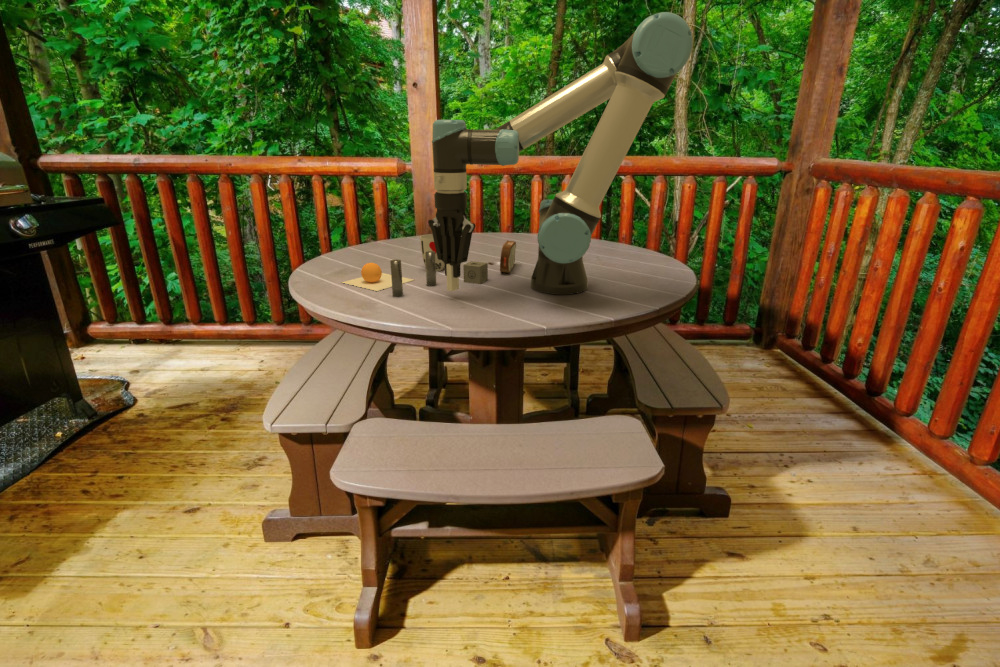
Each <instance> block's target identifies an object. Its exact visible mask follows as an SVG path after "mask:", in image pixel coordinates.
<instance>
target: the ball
mask: <svg viewBox="0 0 1000 667" xmlns="http://www.w3.org/2000/svg"><path fill="white" fill-rule="evenodd" d="M382 273H383V272H382V268H381V267H380V265H379V264H377V263H375V262H367V263H365V264H364V265H363V266H362V268H361V272H360V275H361V277H363V279H364V280H365V281H367V282H369V283H374V282H377V281H378V280H379V279H380V278H381V276H382Z"/></svg>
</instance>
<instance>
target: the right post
mask: <svg viewBox="0 0 1000 667" xmlns="http://www.w3.org/2000/svg"><path fill="white" fill-rule="evenodd" d="M425 258H426V267H425V276H426V278H425V279H426V286H427V287H435V286H437V271H436V263H435V252H434V251H427V252H425Z"/></svg>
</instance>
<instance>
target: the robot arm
mask: <svg viewBox="0 0 1000 667" xmlns="http://www.w3.org/2000/svg"><path fill="white" fill-rule="evenodd" d="M693 42H694V38H693V33H692V30H691V28H690V26H689V24H688V22H687V21H686V20H685V19H684V18H683V17H681V16H680V15H678V14H676V13H673V12H670V11H663V12H658V13H655V14H652V15H649V16H648V17H646V18H645V19H643V21H641V22H640V24H639V25H638V26H637V27H636V30H635V31H634V32H633V33H632V34H631V35H630V37H629V38H628V39H626V40H625V42H624V43H622V44H621V45H620V46H619V47H617V48H616V49H615V50H613V51H611V52H610V53H609V54H606V56H605V58H604V60H603V62H602V64H600V65H598V66H596V67H595V68H593V69H591V70H589V71H588V72H587V73H584V74H583V75H581V76H580V77H578V78H576V79H575V80H573V81H572V82H570V83H568V84H566V85H565V86H564V87H562V88H560V89H558V90H557V91H555V92H554V93H552V94H551V95H549V96H547V97H546V98H544V99H542V100H541V101H539V102H538V103H536V104H535V105H533V106H531V107H529V108H528V109H526V110H525V111H523V112H520V113H519V114H518V115H517V116H515V117H513V118H511V119H509V121H507V122H505V123H503V124H501V125H500V126H498V127H496V128H495V129H470V128H467V124H466V121H465V120H463V119H436V120H435V121H433V124H432V141H431V144H432V161H433V164H432V165H433V187H434V190H435V191H436V192H435V193H434V194H433V195H434V198H433V199H434V207H435V209H436V212H435V217H433V218H432V219H428V226H429V227H430V229H431V234H433V239H434V244H435V248H436V253H437V258H438V259H439V260H442V261H443V262H444V264H445V265H444V275H445V276H446V291H450V292H454V291H456V290H459V289H460V287H459V286H460V284H459V281H460V280H459V278H460V277H461V275H462V273H461V264H463V263H467V261H468V258H469V253H470V246H471V242H472V241H471V240H472V236H473V232H474V230H475V229H476V227H477V226H476V224H475V223H474V222H470V221H469V220H468V216H467V213H466V209H467V207H468V196H467V195H468V194H467V192H465V191H466V190H467V189H468V188H467V187H468V183H467V182H468V181H467V177H468V176H467V165H471V166H473V165H476V166H477V165H479V166H480V165H481V166H484V165H485V166H502V167H504V166H514V165H516V164H517V165H518V162H519V158H520V153H521V152H522V151H523V150H525V149H527V148H528V147H530V146H531V145H533V144H536V143H537V142H539V141H541V140H542V139H543V138H546V137H547V136H548V135H551V134H552V133H554V132H555V131H557V130H559V129H560V128H563V127H564V126H566V125H567V124H569V123H571V122H573V121H574V120H576V119H577V118H580V117H581V116H583V115H584V114H586V113H588V112H589V111H592V110H593V109H595V108H596V107H599V105H601V104H603V103H605V102H606V101H608V103H607V104H606V106H605V108H604V111H603V112H602V114H601V117H600V119H599V121H598V123H597V125H596V127H595V129H594V131H593V133H592V135H591V137H590V139H589V141H588V143H587V146H586V147H585V149H584V151H583V153H582V156H581V157H580V159H579V161H578V163H577V165H576V167H575V170H574V171H573V173H572V176H571V178H570V180H569V182H568V184H567V185H566V188H565V189H564V190H563V191H559V192H557V193H555V195H554V198H553V199H543V200H541V202H540V203H539V204H540V205H539V209H538V213H539V219H538V220H539V221H538V222H539V224H538V225H539V226H538V231H537V243H538V253H537V254H538V255H537V256H538V258H537V260H536V264H535V266H534V270H533V271H532V274H531V278H530V288H531V289H532V290H534V291H536V292H539V293H543V294H548V293H550V294H549V295H551V294H552V295H572V294H571V293H576V294H578V293H577V292H581V291H583V292H585V291H587V290H586V289H588V284H589V281H588V276H587V274H586V269H585V264H584V261H583V256H584V255H585V254H586V253H587V251H588V250H589V248H590V246H591V241H592V235H593V233H594V231H595V229H596V228H597V227H598V224H599V222H600V221H601V217H602V213H601V210H600V206H601V205H602V202H603V199H604V198H605V196H606V194H607V192H608V190H609V188H610V187H611V184H612V182H613V181H614V179H615V177H616V175H617V173H618V171H619V169H620V167H621V165H622V164H623V161H624V159H625V158H626V156H627V154H628V152H629V150H630V148H631V146H632V144H633V142H634V140H635V139H636V136H637V135H638V133H639V131H640V129H641V127H642V125H643V123H644V121H645V120H646V119H647V116H648V113H649V112H650V110H651V108H652V106H653V104H654V103H655V102H658V101H659V100H662V99H664V98H665V96H666V94H667V93H668V91H669V89H670V87H671V85H672V83H673V81H674V80H675V78H676V77H677V74H678V73H680V71H681V70H683V68H684V67H685V66H686V65H687V63H688V61H689V59H690V57H691V55H692V54H691V53H692V51H693V44H694V43H693ZM584 290H585V291H584ZM581 293H582V292H581Z"/></svg>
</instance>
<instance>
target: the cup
mask: <svg viewBox="0 0 1000 667" xmlns="http://www.w3.org/2000/svg"><path fill="white" fill-rule="evenodd" d="M419 239H420V240H419V241H420V242H419V243H420V248H421V254H422V256H421V257H422V260H423V263H424V267H425V268H426V258H425V252H427V251H434V252H435V263H436V272H441V270H442V271H443V270H445V264H444V262H443V261H442V260H439V259H438V258H437V253H436V248H435V244H434V239H433V234H432V233H430V234H423V235H420V236H419Z"/></svg>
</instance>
